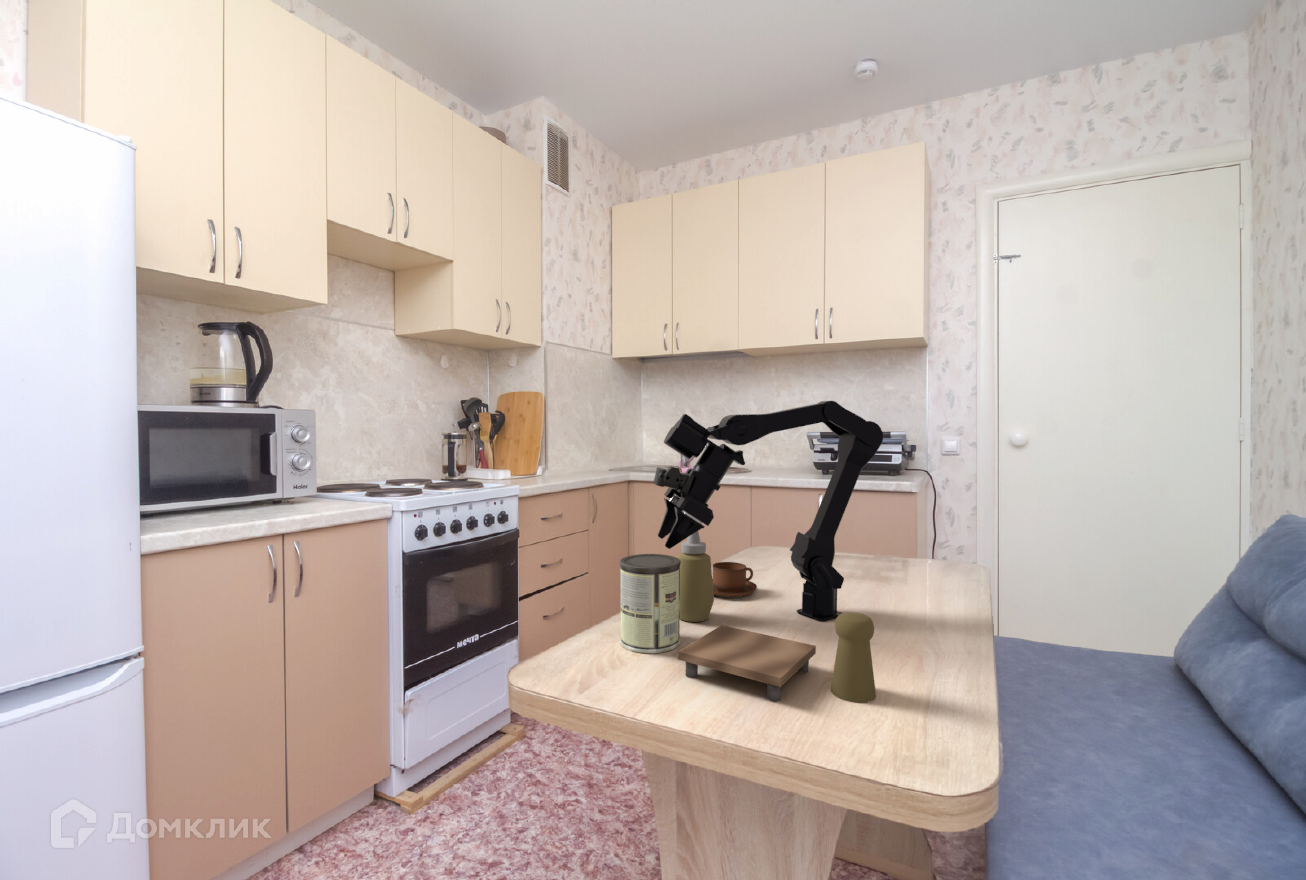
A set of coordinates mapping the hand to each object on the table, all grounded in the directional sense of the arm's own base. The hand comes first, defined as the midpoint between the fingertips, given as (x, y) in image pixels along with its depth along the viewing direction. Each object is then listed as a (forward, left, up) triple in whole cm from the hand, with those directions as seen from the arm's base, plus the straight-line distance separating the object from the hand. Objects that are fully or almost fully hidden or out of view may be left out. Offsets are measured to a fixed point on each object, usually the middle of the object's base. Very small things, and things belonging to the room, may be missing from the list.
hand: (663, 542), depth 113 cm
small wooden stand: (+3, +26, -15) cm, 30 cm away
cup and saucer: (-23, -7, -15) cm, 28 cm away
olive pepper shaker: (-5, +39, -15) cm, 42 cm away
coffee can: (+8, +8, -15) cm, 19 cm away
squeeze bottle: (-6, +2, -15) cm, 16 cm away
